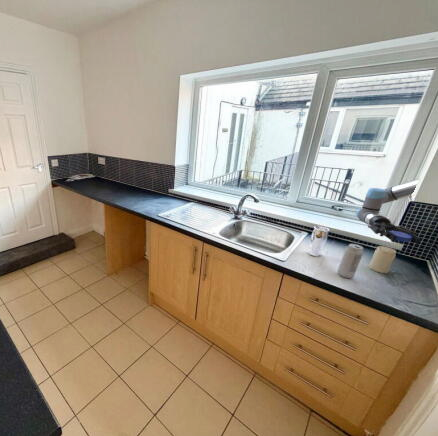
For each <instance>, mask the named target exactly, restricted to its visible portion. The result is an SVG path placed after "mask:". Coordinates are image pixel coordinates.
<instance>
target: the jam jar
mask: <svg viewBox="0 0 438 436" xmlns="http://www.w3.org/2000/svg"><path fill="white" fill-rule="evenodd" d="M396 254H397V250H395V249H394V248H391V247H388V246H385V245H384V246H383V245H377V246H376V249H375V250H374V252H373V254H372V257H371V260H370V262H369V265H368V268H369V269H371V270H373V271H374V272H377V273H381V274H389V273H390V271H391V268H392V266H393V263H394V261H395V259H396Z"/></svg>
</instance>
